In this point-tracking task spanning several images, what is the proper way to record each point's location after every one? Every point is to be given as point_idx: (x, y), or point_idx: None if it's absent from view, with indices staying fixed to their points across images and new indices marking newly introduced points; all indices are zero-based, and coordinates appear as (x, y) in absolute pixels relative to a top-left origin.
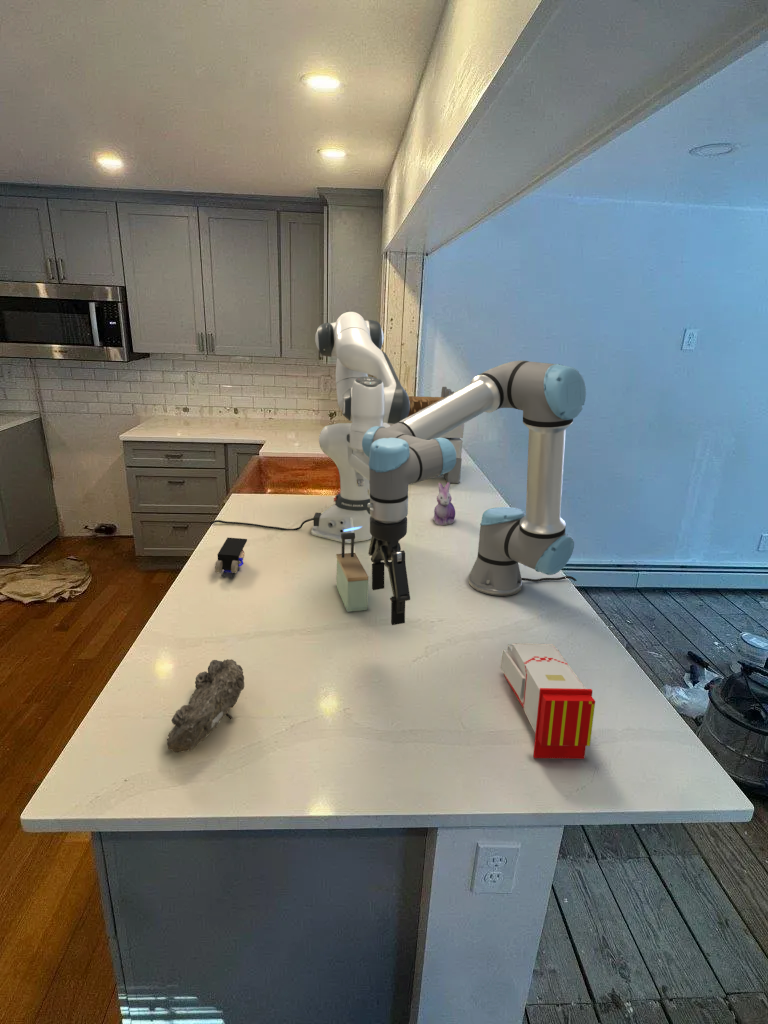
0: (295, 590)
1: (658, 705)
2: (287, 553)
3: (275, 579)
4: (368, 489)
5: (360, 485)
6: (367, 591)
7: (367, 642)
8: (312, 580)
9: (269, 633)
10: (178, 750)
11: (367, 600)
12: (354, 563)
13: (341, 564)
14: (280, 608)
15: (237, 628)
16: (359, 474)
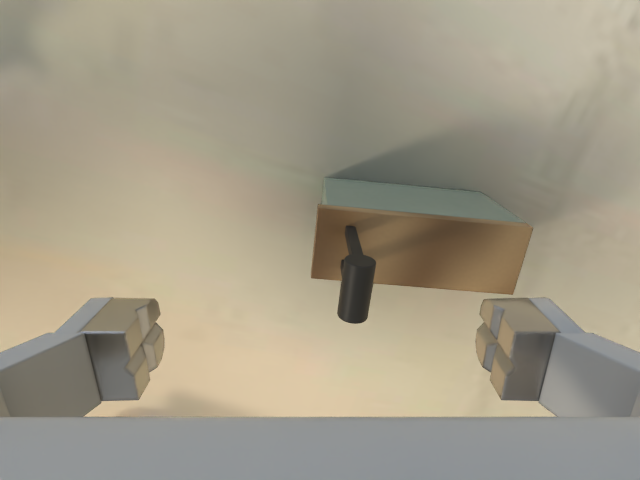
0: (309, 333)
1: None
2: (62, 310)
3: (234, 365)
4: (528, 399)
5: (154, 330)
6: (506, 210)
7: (619, 241)
8: (262, 283)
9: (478, 411)
10: None
11: (492, 200)
12: (413, 240)
13: (405, 285)
14: (386, 378)
15: None
16: (17, 411)
